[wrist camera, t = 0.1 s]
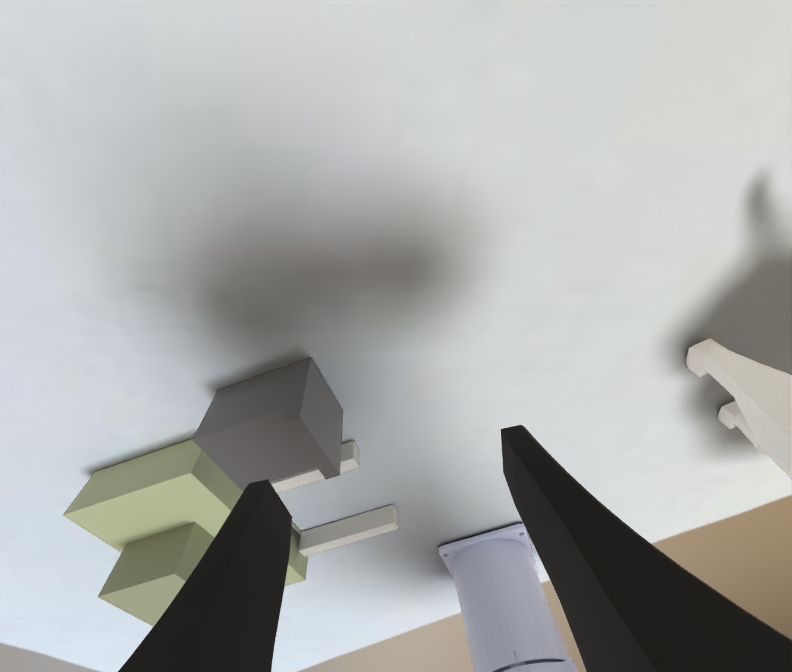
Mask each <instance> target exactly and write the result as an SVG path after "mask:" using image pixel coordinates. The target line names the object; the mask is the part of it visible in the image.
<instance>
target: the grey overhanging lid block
mask: <svg viewBox="0 0 792 672" xmlns="http://www.w3.org/2000/svg"><path fill="white" fill-rule="evenodd" d="M342 423H343V409H342V408H341V406H340V404H339V403H338V401H337V399H336V398H335V396H334V394H333V393H332V391H331V389H330V388H329V386H328V384H327V383H326V381H325V379H324V378H323V376H322V374H321V373H320V371H319V369H318V368H317V366H316V364H315V363H314V361H313V359H312V358H311V357H310V358H307V359H304V360H301V361H298V362H296V363H293V364H290V365H287V366H284V367H281V368H278V369H276V370H273V371H270V372H267V373H264V374H261V375H259V376H256V377H253V378H250V379H247V380H244V381H242V382H239V383H236V384H233V385H230V386H227V387H225V388H222V389H219V390H218V391H217V393H216V395H215V397H214V399H213V401H212V403H211V405H210V407H209V409H208V410H207V412H206V414H205V416H204V418H203V420H202V422H201V424H200V426H199V428H198V430H197V432H196V434H195V436H194V438H193V441H194V442H195V443H196V444H197V445H198V446H199V447H200V448H201V449H202V450H203V451H204V452H205V453H206V455H207V456H208V457H209V458H210V459H211V460H212V461H213V462H214V463H215V464H216V465H217V466H218V467H219V468H220V469H221V470H222V471H223V472H224V473H225V474H226V475H227V476H228V477H229V478H230V479H231V480H232V481H233V482H234V483H235V484H236V485H237V486H238V487H239V488H240V489H241V490H242V491H244V490H245V488H246V487H247V485H248V484H249V483H252V482H257V481H262V480H266V479H268V480H269V482H272V481H275V480H278V479H281V478H284V477H287V476H291V475H294V474H297V473H300V472H303V471H306V470H309V469H313V468H316V467H317V468H318V470H319V471H320V472H321V474H322V475H323V476H324V478H325V479H329V478H332V477H335V476H339V475H340V465H341V444H342Z"/></svg>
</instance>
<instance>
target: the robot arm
mask: <svg viewBox="0 0 792 672" xmlns="http://www.w3.org/2000/svg"><path fill="white" fill-rule="evenodd" d="M501 440H502V456H503V472H504V475H505V478H506V481H507V484H508V486H509V489H510V492H511V495H512V498H513V500H514V503H515V506H516V508H517V510H518V512H519V514H520V517H521V519H522V521H523V523H524V524H516V525H513V526H509V527H506V528H502V529H499V530H495V531H492V532H488V533H485V534H481V535H478V536H474V537H471V538H467V539H464V540H460V541H457V542H453V543H450V544H446V545H443V546H440V547H439V548H438V551H439V554H440V556H441V558H442V560H443V561H444V563H445V565H446V567H447V568H448V570H449V572H450V574H451V576H452V577H453V579H454V581H455V584H456V588H457V593H458V598H459V602H460V607H461V612H462V616H463V621H464V626H465V630H466V635H467V640H468V644H469V649H470V653H471V659H472V664H473V668H474V672H577V669H576V667H575V664H574V662H573V660H571V659H570V656H569V654H568V651H567V649H566V646H565V644H564V641H563V639H562V636H561V634H560V631H559V629H558V626H557V623H556V621H555V619H554V616H553V613H552V611H551V609H550V606H549V603H548V601H547V598H546V596H545V593H544V591H543V588H542V586H541V583H540V581H539V578H538V575H537V574H538V571H537V567H536V563H535V560H534V556H533V553H532V549H531V545H530V542H529V538H528V534H529V536H530V538H531V540H532V542H533V544H534V546H535V548H536V550H537V553H538V555H539V557H540V559H541V561H542V563H543V565H544V567H545V569H546V571H547V574H548V576H549V578H550V580H551V582H552V584H553V586H554V588H555V591H556V593H557V595H558V597H559V600H560V602H561V605H562V607H563V610H564V613H565V615H566V618H567V620H568V623H569V626H570V628H571V631H572V633H573V636H574V639H575V641H576V644H577V646H578V649H579V652H580V654H581V657H582V660H583V663H584V665H585V668H586V671H587V672H792V640H791V639H789V638H788V637H786V636H784V635H783V634H781V633H780V632H778V631H776V630H775V629H773V628H772V627H770V626H769V625H767V624H766V623H764V622H762V621H761V620H759V619H758V618H756V617H754V616H753V615H752V614H750V613H748V612H746V611H745V610H744V609H742V608H741V607H739V606H738V605H736V604H735V603H733V602H732V601H730V600H729V599H728V598H726V597H725V596H723V595H722V594H720V593H719V592H717V591H716V590H714V589H713V588H711V587H710V586H709V585H707V584H706V583H704V582H703V581H701V580H700V579H698V578H697V577H695V576H694V575H692V574H691V573H689V572H688V571H687V570H685V569H684V568H682V567H681V566H680V565H678V564H677V563H676V562H674V561H673V560H672V559H670V558H669V557H668V556H666V555H665V554H664V553H662V552H661V551H659V550H658V549H657V548H655V547H654V546H653V545H652V544H650V543H649V542H648V541H647V540H645V539H644V538H643V537H641V536H640V535H639V534H638V533H636V532H635V531H634V530H633V529H631V528H630V527H629V526H628V525H626V524H625V523H624V522H623V521H622V520H620V519H619V518H618V517H617V516H615V515H614V514H613V513H612V512H611V511H610V510H609V509H607V508H606V507H605V506H604V505H603V504H602V503H600V502H599V501H598V500H597V499H596V498H595V497H594V496H593V495H591V494H590V493H589V492H588V491H587V490H586V489H585V488H584V487H583V486H582V485H581V484H579V483H578V482H577V481H576V480H575V479H574V478H573V477H572V476H571V475H570V474H569V473H568V472H567V471H566V470H565V469H564V468H563V467H562V466H561V465H560V464H559V463H558V462H557V461H556V460H555V459H554V458H553V457H552V456H551V455H550V454H549V453H548V452H547V451H546V450H545V449H544V448H543V447H542V446H541V445H540V444H539V443H538V442H537V440H536V439H535V438H534V437H533V436H532V435H531V434H530V433H529V431H528V430H527V429H526V428H525V427H524V426H522V425H518V426H513V427H509V428H504V429H501ZM291 525H292V516H291V515H290V513H289V512H288V510H287V508H286V507H285V505H284V504H283V502H282V501H281V499H280V497H279V496H278V494H277V493H276V491H275V489H274V488H273V486H272V485H271V483H270V482H269V480H268V479H266V480H262V481H257V482H252V483H249V484H248V485H247V487H246V488H245V490H244V491H243V493H242V495H241V496H240V498H239V499H238V501H237V503H236V504H235V506H234V507H233V509H232V511H231V512H230V514H229V516H228V517H227V519H226V520H225V522H224V524H223V525H222V527H221V528H220V530H219V532H218V533H217V535H216V536H215V538H214V540H213V541H212V543H211V544H210V546H209V547H208V549H207V550H206V552H205V554H204V555H203V557H202V558H201V560H200V561H199V563H198V564H197V566H196V567H195V569H194V570H193V572H192V573H191V575H190V576H189V578H188V579H187V581H186V582H185V583H184V585H183V586H182V588H181V589H180V591H179V592H178V594H177V595H176V596H175V598H174V599H173V601H172V602H171V604H170V605H169V606H168V608H167V609H166V611H165V612H164V613H163V615H162V616H161V617H160V619H159V620H158V621H157V623H156V624H155V626H154V627H153V628H152V630H151V631H150V632H149V633H148V635H147V636H146V637H145V639H144V640H143V641H142V643H141V644H140V645H139V646H138V648H137V649H136V650H135V652H134V653H133V654H132V655H131V657H130V658H129V659H128V660H127V661H126V663H125V664H124V665H123V666H122V668H121V669H120V670H119V671H118V672H271V666H272V658H273V651H274V643H275V637H276V632H277V626H278V620H279V614H280V609H281V603H282V597H283V591H284V586H285V580H286V574H287V568H288V562H289V555H290V544H291ZM525 527H526V528H525ZM526 529H527V531H528V534H527V531H526Z"/></svg>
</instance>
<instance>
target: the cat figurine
mask: <svg viewBox="0 0 792 672" xmlns="http://www.w3.org/2000/svg"><path fill="white" fill-rule="evenodd" d="M686 363H687V368H689V369H690V370H691V371H693V372H694V373H695V374H697V375H698V376H699V377H702V376H704V375H707V374H710V375H711V376H712V377H713V378H715V379H716V380H717V381H718V382H719V383H720V384H721V385H722V386H723V387H724V388H725V389H726V390H727V391H728V392H729V393H730V394H731V395H732V396H733V397H734V398H735V400H736V401H734V402H731V403H729V404H726V405H724V406H722V407H721V409H720V412H719V414H718V418H719V420H720V421H721V422H722V423H723V424H724V425H726V426H727V427H728V428H729V429H732V428H734V427H738V428H739V429H740V430H741V431H742V432H743V433H744V434H745V436H746V437H747V438H748V439H749V440H750V441H751V442H752V443H753V445H754V446H755V447H756V448H757V449H758V450H759V451H761V452H762V453H764V454H766V455H767V456H769V457H770V458H771V459H772V460H773V461H774V462H775V463H776V464H777V465H778V466H779V467H780V468H781V469H782V470H783V471H784V472H785V473H786V474H787V475H788V476H789V477H790V478H791V479H792V375H791V374H788V373H785V372H782V371H780V370H777V369H774V368H772V367H769V366H766V365H763V364H761V363H758V362H756V361H754V360H751V359H749V358H746V357H744V356H742V355H739V354H737V353H734V352H732V351H730V350H727V349H726V348H725V347H723V346H722V345H720V344H718V343H717V342H715V341H713V340H712V339H710V338H709V339H707V340H705V341H702V342H700V343H698V344H696V345H694V346H692V347H689V351H688V355H687V358H686Z"/></svg>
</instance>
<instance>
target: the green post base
mask: <svg viewBox="0 0 792 672" xmlns="http://www.w3.org/2000/svg"><path fill="white" fill-rule="evenodd" d="M356 468H359V448H358V446H357V445H356V443H355V442H354V440H353V441H350V442H347V443H344V444H341V465H340V473H343V472H347V471H350V470H353V469H356ZM321 479H324V476H323V475H322V474H321V472H320V471H319V470H318V468H317V467H316V468H313V469H309V470H306V471H303V472H300V473H297V474H294V475H291V476H287V477H284V478H281V479H278V480H275V481H272V482H270V483H271V485H272V486H273V488H274V489H275V491H276V493H280V492H283V491H286V490H289V489H293V488H296V487H299V486H302V485H305V484H308V483H312V482H315V481H318V480H321ZM242 493H243V491H242V490H241V489H240V488H239V487H238V486H237V485H236V484H235V483H234V482H233V481H232V480H231V479H230V478H229V477H228V476H227V475H226V474H225V473H224V472H223V471H222V470H221V469H220V468H219V467H218V466H217V465H216V464H215V463H214V462H213V461H212V460H211V459H210V458H209V457H208V456H207V455H206V453H205V452H204V451H203V450H202V449H201V448H200V447H199V446H198V445H197V444H196V443H195V442H194V441H193V439H190V440H187V441H184V442H181V443H178V444H176V445H173V446H170V447H167V448H164V449H161V450H158V451H155V452H152V453H149V454H146V455H143V456H140V457H137V458H134V459H131V460H129V461H126V462H123V463H120V464H117V465H114V466H111V467H108V468H105V469H102V470H99V471H96V472H95V473H94V474H93V475H92V477H91V478H90V479H89V481H88V482H87V483H86V485H85V486H84V487H83V489H82V490H81V491H80V493H79V494H78V495H77V497H76V498H75V499H74V501H73V502H72V503H71V505H70V506H69V507H68V509H67V510H66V511H65V513H64V514H63V515H64V516H65V517H67V518H68V519H70V520H71V521H73V522H74V523H76V524H77V525H79V526H81V527H82V528H84V529H85V530H87V531H88V532H90V533H91V534H93V535H95V536H96V537H98V538H99V539H101V540H102V541H104V542H105V543H107V544H108V545H110V546H112V547H113V548H115V549H116V550H118V551H119V552H121V555H120V557H119V559H118V561H117V562H116V564H115V566H114V568H113V570H112V572H111V573H110V575H109V577H108V579H107V581H106V583H105V584H104V586H103V588H102V590H101V592H100V594H99V596H98V597H99V598H101V599H103V600H105V601H106V602H108V603H110V604H112V605H114V606H116V607H118V608H120V609H122V610H123V611H125V612H127V613H129V614H131V615H133V616H135V617H137V618H138V619H140V620H142V621H144V622H146V623H148V624H150V625H152V626H153V627H154V626H155V624H156V623H157V621H158V620H159V619H160V617H161V616H162V615H163V613H164V612H165V611H166V609H167V608H168V606H169V605H170V604H171V602H172V601H173V599H174V598H175V596H176V595H177V594H178V592H179V591H180V589H181V588H182V586H183V585H184V583H185V582H186V581H187V579H188V578H189V576H190V575H191V573H192V572H193V570H194V569H195V567H196V566H197V564H198V563H199V561H200V560H201V558H202V557H203V555H204V554H205V552H206V550H207V549H208V547H209V546H210V544H211V543H212V541H213V540H214V538H215V536H216V535H217V533H218V532H219V530H220V528H221V527H222V525H223V524H224V522H225V520H226V519H227V517H228V516H229V514H230V512H231V511H232V509H233V507H234V506H235V504H236V503H237V501H238V499H239V498H240V496H241V495H242ZM397 529H399V524H398V514H397V510H396V508H395V507H394V505H393V504H392V505H389V506H385V507H382V508H379V509H375V510H372V511H369V512H365V513H362V514H359V515H355V516H352V517H349V518H345V519H342V520H339V521H335V522H332V523H329V524H325V525H322V526H319V527H316V528H312V529H309V530H306V531H302V532H301V531H300V530H299V529H298V528H297V527H296V525H295V524H294V523H293V522H292V525H291V544H290V555H289V562H288V568H287V574H286V580H285V586H287V585H290V584H294V583H297V582H301V581H304V580H305V578H306V569H307V561H308V556H309V555H312V554H315V553H319V552H322V551H326V550H329V549H333V548H336V547H339V546H343V545H346V544H350V543H353V542H356V541H360V540H363V539H367V538H370V537H373V536H377V535H380V534H384V533H387V532H390V531H394V530H397Z"/></svg>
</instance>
